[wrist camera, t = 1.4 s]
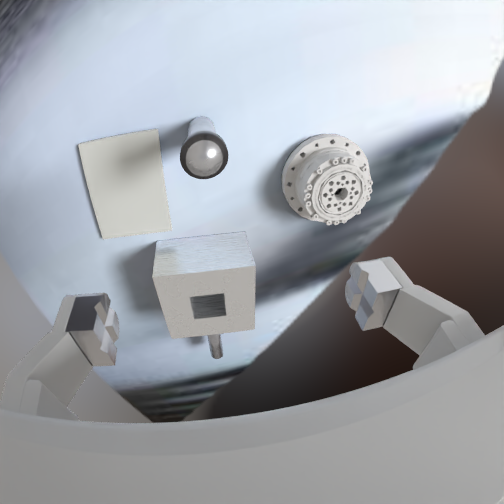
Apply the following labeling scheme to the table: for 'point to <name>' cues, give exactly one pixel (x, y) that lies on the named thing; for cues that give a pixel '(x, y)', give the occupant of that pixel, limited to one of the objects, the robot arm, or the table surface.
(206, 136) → the grey capped cylinder
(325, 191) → the mechanical component
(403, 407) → the robot arm
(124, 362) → the table surface
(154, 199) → the mat
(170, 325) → the block
